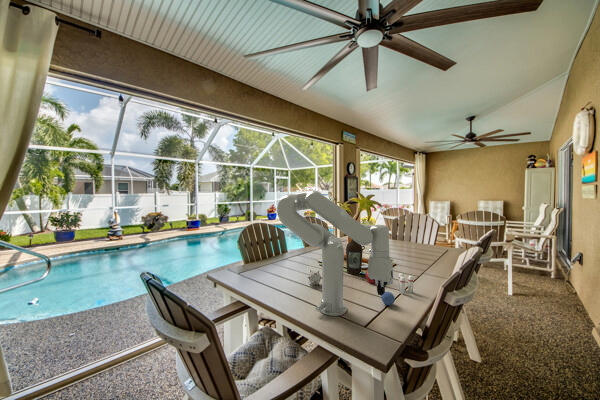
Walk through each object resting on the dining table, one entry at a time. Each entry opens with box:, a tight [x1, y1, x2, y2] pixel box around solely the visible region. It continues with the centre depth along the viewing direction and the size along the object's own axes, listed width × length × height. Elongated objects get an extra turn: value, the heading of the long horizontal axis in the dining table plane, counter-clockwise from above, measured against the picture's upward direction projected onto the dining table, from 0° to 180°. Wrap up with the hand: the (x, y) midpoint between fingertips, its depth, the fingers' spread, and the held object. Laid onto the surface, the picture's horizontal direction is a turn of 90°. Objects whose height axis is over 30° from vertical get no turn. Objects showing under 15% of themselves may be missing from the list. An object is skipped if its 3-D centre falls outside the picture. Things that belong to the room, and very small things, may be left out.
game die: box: [307, 269, 322, 286], centre depth 136 cm, size 9×8×10 cm
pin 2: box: [407, 275, 414, 294], centre depth 126 cm, size 2×2×8 cm
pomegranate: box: [365, 270, 376, 285], centre depth 140 cm, size 10×10×9 cm
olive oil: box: [345, 239, 363, 276], centre depth 155 cm, size 11×11×25 cm
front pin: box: [399, 276, 406, 295], centre depth 124 cm, size 2×2×8 cm
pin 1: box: [398, 272, 405, 291], centre depth 129 cm, size 2×2×8 cm
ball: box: [380, 291, 396, 306], centre depth 112 cm, size 6×6×6 cm
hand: (381, 294), depth 105 cm, fingers closed
